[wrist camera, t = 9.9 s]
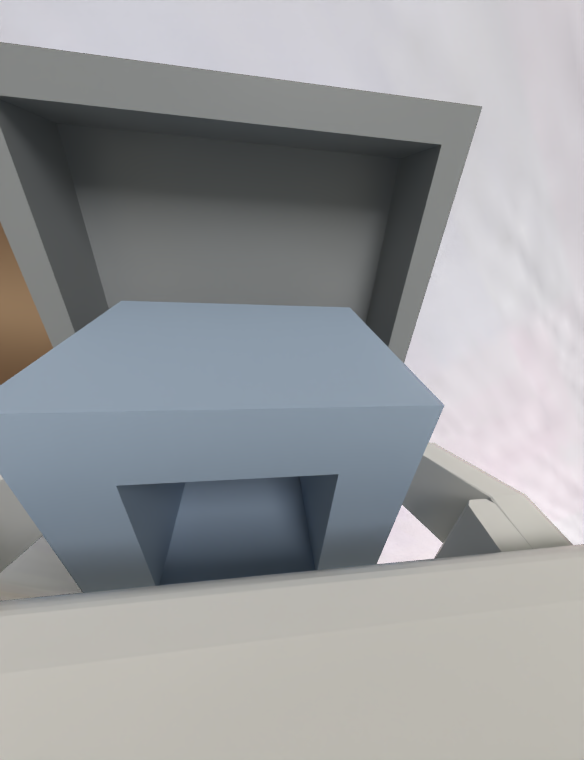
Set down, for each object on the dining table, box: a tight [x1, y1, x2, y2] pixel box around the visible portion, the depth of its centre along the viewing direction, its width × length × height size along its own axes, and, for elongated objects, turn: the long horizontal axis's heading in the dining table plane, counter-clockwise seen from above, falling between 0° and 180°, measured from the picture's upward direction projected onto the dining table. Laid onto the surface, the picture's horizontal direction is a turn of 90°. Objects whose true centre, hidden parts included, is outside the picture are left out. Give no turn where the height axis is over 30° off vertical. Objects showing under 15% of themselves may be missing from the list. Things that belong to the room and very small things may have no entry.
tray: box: [0, 42, 482, 363], centre depth 12 cm, size 16×12×3 cm
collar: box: [0, 301, 444, 593], centre depth 8 cm, size 8×6×5 cm
